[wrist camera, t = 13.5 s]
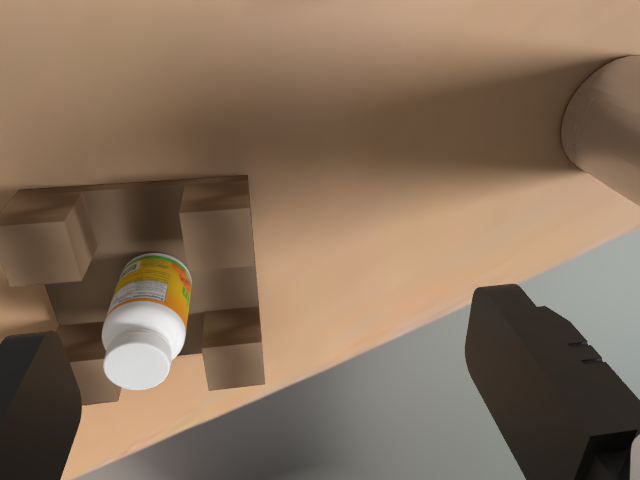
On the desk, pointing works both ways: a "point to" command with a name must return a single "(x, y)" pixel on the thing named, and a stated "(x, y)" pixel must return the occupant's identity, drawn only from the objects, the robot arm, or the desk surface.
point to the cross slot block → (124, 245)
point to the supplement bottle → (146, 321)
